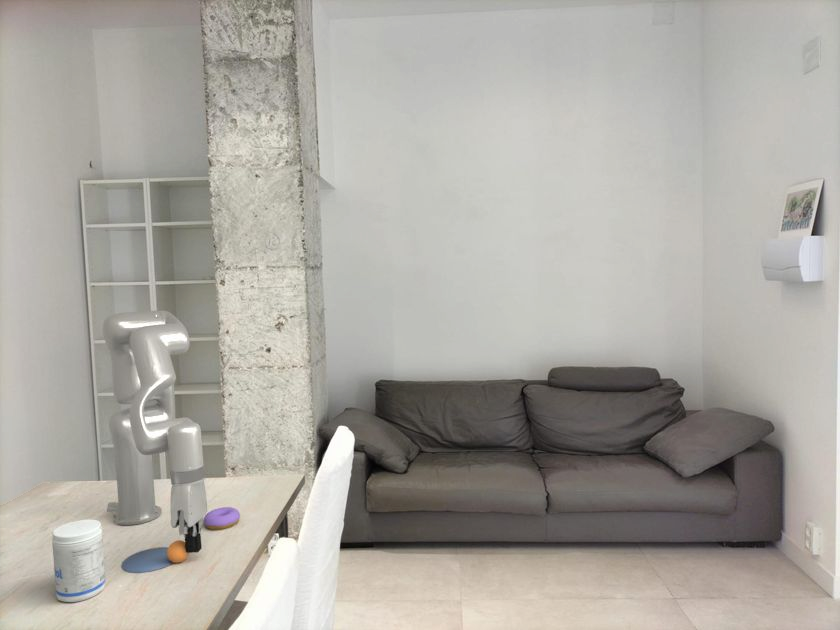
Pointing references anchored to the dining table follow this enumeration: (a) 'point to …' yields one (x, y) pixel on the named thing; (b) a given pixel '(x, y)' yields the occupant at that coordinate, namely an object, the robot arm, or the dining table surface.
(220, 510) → the donut
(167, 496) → the dining table surface
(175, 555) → the ball
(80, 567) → the supplement tub
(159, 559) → the disc
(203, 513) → the robot arm
